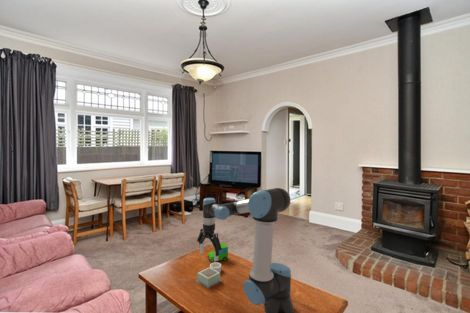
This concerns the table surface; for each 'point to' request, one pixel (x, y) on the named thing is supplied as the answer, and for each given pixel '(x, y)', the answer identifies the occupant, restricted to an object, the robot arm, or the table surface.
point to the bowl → (216, 266)
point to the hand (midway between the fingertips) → (208, 256)
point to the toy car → (222, 254)
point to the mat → (209, 286)
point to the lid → (208, 276)
